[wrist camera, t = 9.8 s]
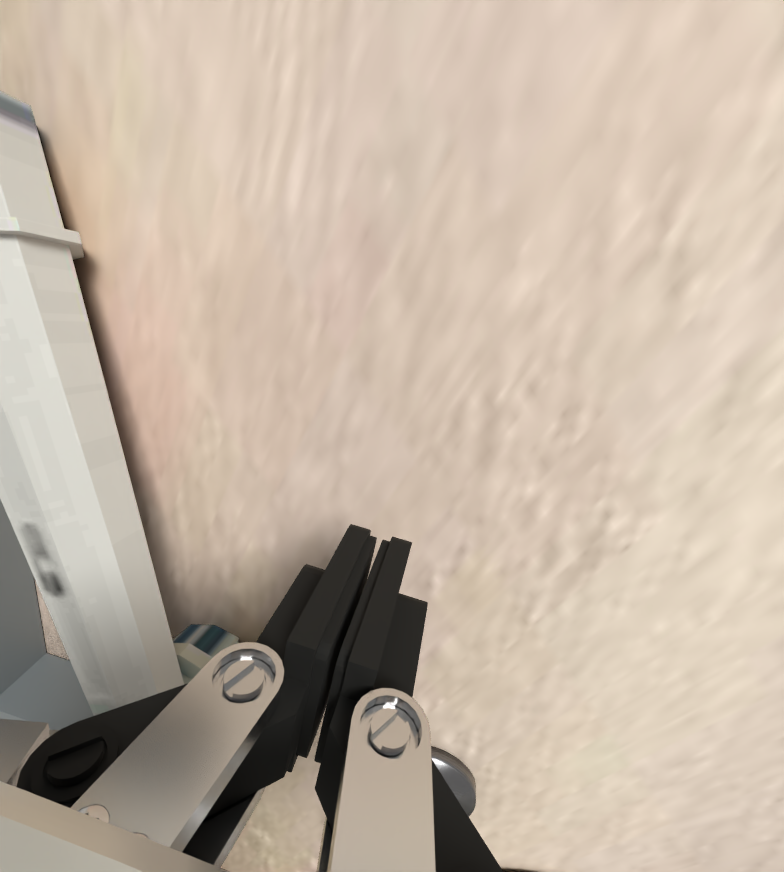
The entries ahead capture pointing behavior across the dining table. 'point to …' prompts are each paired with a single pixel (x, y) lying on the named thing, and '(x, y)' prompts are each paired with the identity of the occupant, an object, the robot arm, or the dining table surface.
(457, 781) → the ball stud
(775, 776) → the dining table surface
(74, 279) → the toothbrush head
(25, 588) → the bay
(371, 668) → the robot arm
